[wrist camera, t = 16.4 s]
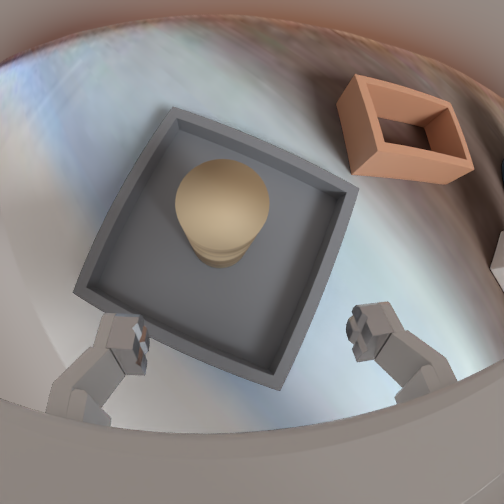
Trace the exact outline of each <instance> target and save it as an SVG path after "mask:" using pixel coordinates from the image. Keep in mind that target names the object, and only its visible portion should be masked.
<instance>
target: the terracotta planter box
mask: <svg viewBox="0 0 504 504" xmlns="http://www.w3.org/2000/svg"><path fill="white" fill-rule="evenodd" d="M336 106H337V110H338V114H339V118H340V122H341V126H342V131H343V135H344V140H345V144H346V149H347V154H348V159H349V164H350V169H351V175H361V176H374V177H385V178H395V179H404V180H413V181H421V182H429V183H436V184H443V185H446V184H448V183H450V182H452V181H454V180H456V179H457V178H459V177H461V176H463V175H465V174H467V173H469V172H471V171H473V170H474V166H473V163H472V160H471V156H470V153H469V150H468V147H467V144H466V141H465V138H464V136H463V133H462V130H461V127H460V125H459V122H458V120H457V117H456V115H455V112H454V110H453V108H452V105H451V103H449V102H447V101H444V100H442V99H439V98H436V97H434V96H431V95H428V94H425V93H422V92H419V91H416V90H413V89H410V88H407V87H403V86H400V85H397V84H393V83H389V82H386V81H382V80H378V79H374V78H370V77H366V76H361V75H357V74H355V75H354V76H353V78H352V79H351V81H350V82H349V84H348V86H347V87H346V89H345V90H344V92H343V94H342V95H341V97H340V98H339V100H338V101H337V103H336ZM378 117H379V118H384V119H389V120H394V121H398V122H403V123H407V124H411V125H415V126H419V127H423V128H424V129H425V132H426V135H427V138H428V141H429V144H430V148H431V151H428V150H424V149H419V148H414V147H409V146H404V145H398V144H392V143H386V142H384V138H383V135H382V131H381V128H380V124H379V121H378Z"/></svg>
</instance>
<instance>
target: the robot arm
mask: <svg viewBox="0 0 504 504" xmlns="http://www.w3.org/2000/svg"><path fill="white" fill-rule="evenodd" d="M352 313H353V316H351V317H350V318H349V319H348V322H347V324H346V333H347V337H348V340H349V341H350V342H351V343H353V344H354V345H353V348H352V350H353V353H354V356H355V358H356V361H357V362H362V361H368V360H374V359H375V360H374V361H375V362H376V363H378V364H379V365H380V366H381V367H382V368H383V369H384V370H385V371H386V372H387V373H388V374H389V375H390V376H391V377H392V378H393V379H394V380H395V381H396V382H397V383H398V384H399V385H400V386H401V387H402V389H401V390H400V391H399V392H398V393H397V394H396V396H395V400H396V403H397V404H396V405H393V406H390V407H386V408H383V409H379V410H376V411H372V412H368V413H364V414H360V415H356V416H352V417H348V418H343V419H339V420H334V421H329V422H323V423H318V424H312V425H306V426H299V427H292V428H285V429H276V430H267V431H256V432H241V433H215V434H192V433H166V432H151V431H140V430H131V429H123V428H116V427H111V418H110V416H109V415H108V414H107V413H106V412H105V411H104V410H103V409H102V408H101V407H102V406H103V405H104V403H105V402H106V401H107V399H108V398H109V397H110V395H111V394H112V393H113V391H114V390H115V389H116V387H117V386H118V385H119V383H120V382H121V381H122V379H123V378H124V377H125V375H145V374H146V367H147V359H146V357H145V354H146V353H147V352H148V351H149V333H148V329H147V328H146V327H145V326H144V318H143V315H140V314H121V313H104V315H103V316H102V319H101V322H100V325H99V328H98V332H97V335H96V339H95V342H94V346H93V347H89V348H88V349H87V350H86V351H85V352H84V353H83V354H82V355H81V356H80V357H79V358H78V359H77V360H76V361H75V362H74V363H73V364H72V365H71V366H70V367H69V368H68V369H67V370H66V371H65V372H64V373H63V374H62V375H61V376H60V377H59V378H58V379H56V380H55V381H54V382H53V384H52V387H51V391H50V395H49V399H48V403H47V407H46V412H45V413H44V412H40V411H37V410H33V409H30V408H27V407H24V406H21V405H18V404H15V403H12V402H9V401H6V400H3V399H1V398H0V504H504V359H503V360H500V361H498V362H497V363H495V364H493V365H491V366H489V367H487V368H485V369H483V370H481V371H479V372H477V373H475V374H473V375H471V376H469V377H467V378H464V379H462V380H460V381H457V379H456V377H455V375H454V373H453V371H452V369H451V367H450V365H449V363H448V361H447V359H446V358H445V357H444V356H443V355H441V354H440V353H438V352H437V351H436V350H434V349H433V348H432V347H430V346H429V345H427V344H426V343H425V342H423V341H422V340H420V339H419V338H418V337H416V336H415V335H413V334H412V333H411V332H409V331H408V330H406V331H405V330H404V328H403V326H402V324H401V322H400V321H399V319H398V317H397V315H396V313H395V311H394V309H393V308H392V306H391V304H390V303H389V302H380V303H370V304H362V305H356V306H355V307H354V308H353V310H352Z"/></svg>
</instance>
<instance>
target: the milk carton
mask: <svg viewBox="0 0 504 504" xmlns="http://www.w3.org/2000/svg"><path fill="white" fill-rule="evenodd" d="M490 270H491V271H492V273H493V274H494V276H495V278H496V279H497V281H498V283H499V285H500V286H501V288H502V290H503V292H504V231H502V232H501V233H500V237H499V241H498V244H497V248H496V251H495V254H494V257H493V261H492V264H491V267H490Z"/></svg>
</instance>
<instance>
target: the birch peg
mask: <svg viewBox="0 0 504 504" xmlns="http://www.w3.org/2000/svg"><path fill="white" fill-rule="evenodd" d="M269 204H270V203H269V195H268V191H267V188H266V186H265V184H264V182H263V180H262V179H261V177H260V176H259V175H258V174H257V173H256V172H255V171H254V170H253V169H252V168H250V167H249V166H247V165H245V164H243V163H241V162H238V161H234V160H229V159H216V160H210V161H207V162H204V163H202V164H200V165H198V166H196V167H195V168H193V169H192V170H191V171H190V172H189V173H188V174H187V175H186V176H185V177H184V178H183V180H182V182H181V183H180V185H179V187H178V190H177V193H176V199H175V208H176V214H177V218H178V220H179V222H180V225H181V226H182V228H183V230H184V232H185V234H186V236H187V238H188V240H189V242H190V244H191V246H192V248H193V250H194V252H195V254H196V255H197V257H198V258H199V259H200V260H201V261H202V262H203V263H204V264H206V265H208V266H210V267H214V268H227V267H230V266H232V265H234V264H236V263H237V262H238V261H239V260H240V259H241V258H242V257H243V255H244V254H245V252H246V251H247V249H248V248H249V246H250V245H251V243H252V242H253V240H254V239H255V237H256V236H257V234H258V233H259V231H260V230H261V228H262V227H263V225H264V223H265V222H266V219H267V216H268V212H269Z"/></svg>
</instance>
